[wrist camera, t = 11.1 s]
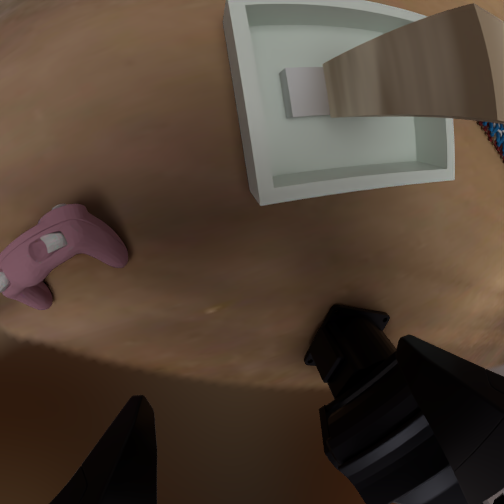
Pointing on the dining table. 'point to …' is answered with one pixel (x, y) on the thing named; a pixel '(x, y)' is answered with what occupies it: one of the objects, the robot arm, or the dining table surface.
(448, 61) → the plate
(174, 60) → the dining table surface
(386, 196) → the dining table surface
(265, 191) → the box
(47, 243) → the video game controller
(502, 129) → the woven mat
